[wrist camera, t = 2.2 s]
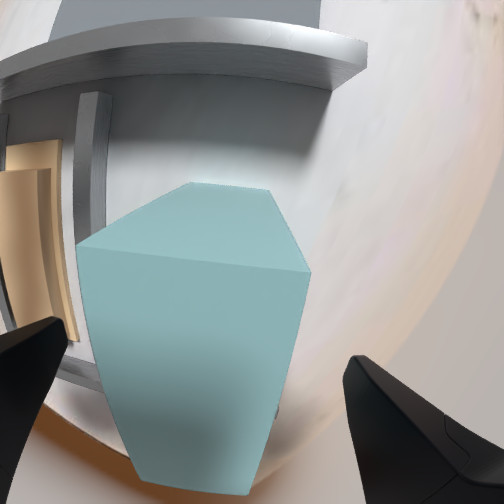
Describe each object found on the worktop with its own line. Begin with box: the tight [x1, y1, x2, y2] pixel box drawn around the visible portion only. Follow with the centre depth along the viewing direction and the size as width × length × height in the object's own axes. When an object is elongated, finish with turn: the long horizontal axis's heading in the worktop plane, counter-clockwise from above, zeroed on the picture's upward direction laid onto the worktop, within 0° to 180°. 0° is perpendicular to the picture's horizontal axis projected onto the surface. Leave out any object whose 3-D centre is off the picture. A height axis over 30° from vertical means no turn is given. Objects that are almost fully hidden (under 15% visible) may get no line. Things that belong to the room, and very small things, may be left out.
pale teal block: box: [76, 182, 311, 495], centre depth 9 cm, size 4×8×9 cm, turn 173°
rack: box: [0, 17, 368, 419], centre depth 11 cm, size 19×19×4 cm
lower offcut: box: [6, 139, 80, 342], centre depth 13 cm, size 4×12×1 cm, turn 173°
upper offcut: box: [0, 168, 70, 336], centre depth 12 cm, size 4×10×1 cm, turn 173°
